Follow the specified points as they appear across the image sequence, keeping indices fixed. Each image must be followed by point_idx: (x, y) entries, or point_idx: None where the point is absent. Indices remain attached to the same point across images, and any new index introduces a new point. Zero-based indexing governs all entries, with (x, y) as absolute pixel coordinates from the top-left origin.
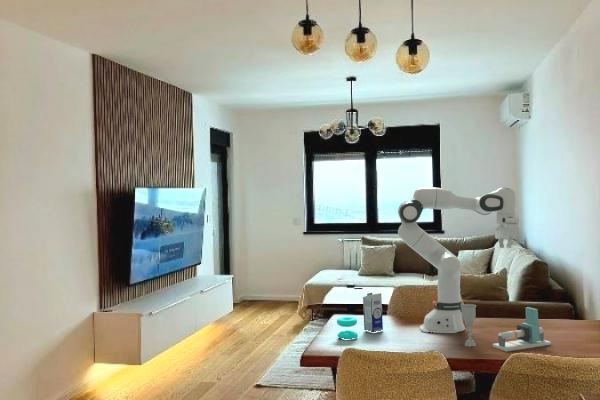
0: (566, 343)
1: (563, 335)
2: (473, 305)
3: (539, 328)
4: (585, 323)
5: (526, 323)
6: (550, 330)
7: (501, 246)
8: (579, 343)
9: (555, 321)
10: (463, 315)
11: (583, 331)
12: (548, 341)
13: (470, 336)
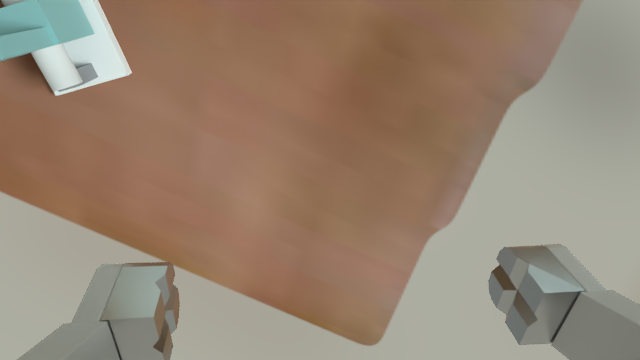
0: (82, 151)
1: (194, 191)
2: None
3: (46, 76)
4: (338, 313)
5: (29, 22)
6: (271, 184)
7: (515, 275)
8: (83, 188)
9: (392, 253)
10: None
11: (239, 266)
12: (62, 91)
13: None
